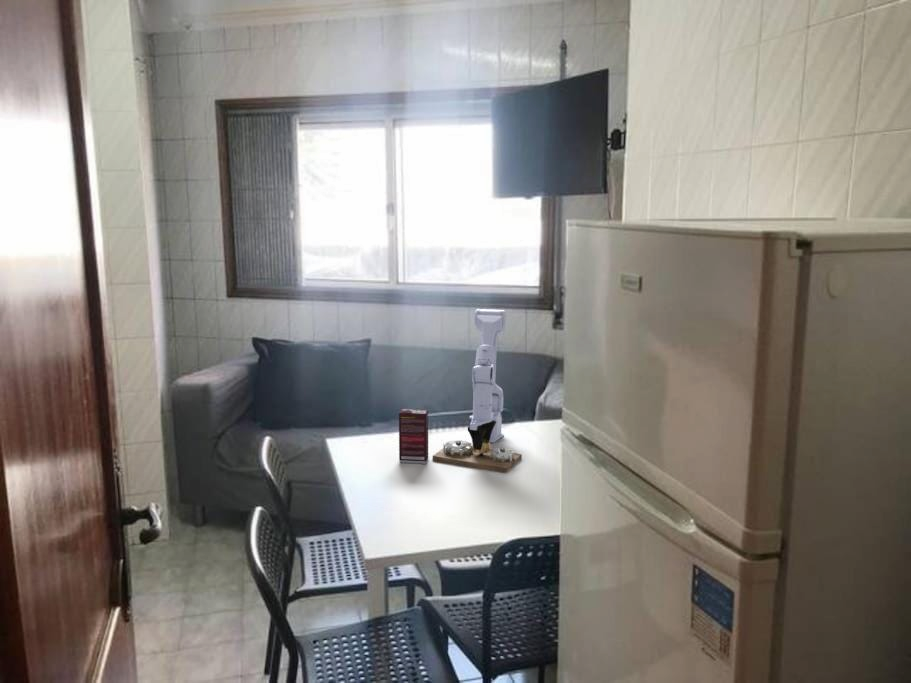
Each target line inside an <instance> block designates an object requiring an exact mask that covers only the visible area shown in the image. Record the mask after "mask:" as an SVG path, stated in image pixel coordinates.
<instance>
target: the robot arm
mask: <svg viewBox="0 0 911 683" xmlns="http://www.w3.org/2000/svg"><path fill="white" fill-rule="evenodd" d="M506 313H507V312H506V311H505V309H488V308H487V309H482V308H481V309H480V308H477V309H476V310H475V312H474V326H475V330H476V332H477V333H478V334H480V336H481V337H480V338H481V339H480V345H479V347H477V349H476V353H475V363H474V366H473V367H472V369H471V381H472V390H473V391H472V392H473V394H472V396H473V399H472V415H469V416H468V418H469V420H471V421H470V423H469V426H467V431H468V433H469V436H470V438H471V443H472V442H473V446H474V449H475V450H481V448H482V443H483V439H485V440H488V441H490V443H496V442H497V441H498V440H500V439H501V438H503V437H504V436H505V435H504V433H502V420H503V418H502V414H501V413H502V412H503V411H504V410H503V409H504V391H503V389H502V387H500V386H499V385H498V384H497V383H496V372H497V350H498V340H499V336H500V335H503V334H505V331H506V320H507V319H506V317H507V316H506V315H507V314H506Z"/></svg>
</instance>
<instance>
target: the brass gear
mask: <svg viewBox="0 0 911 683" xmlns="http://www.w3.org/2000/svg"><path fill="white" fill-rule="evenodd" d="M471 443H472V451H473V452H475V453H488V452H489V451H490V449H491V442H490V441H488V440H485V439H483V443H482V448H481V450H475V449H474V446H473V442H472V441H471Z"/></svg>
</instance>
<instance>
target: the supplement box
mask: <svg viewBox="0 0 911 683" xmlns="http://www.w3.org/2000/svg"><path fill="white" fill-rule="evenodd" d="M398 441H399V442H398V448H399V449H398V453H399V454H398V456H399V457H398V458H399V461H398V462H399V463H400V462H402V463H401V464H423V465H424V464H425V465H426V464H427V462H428V460H429V409H417V408H416V409H414V408H409V409H408V408H401V409H400V411H399V412H398Z"/></svg>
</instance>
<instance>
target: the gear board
mask: <svg viewBox="0 0 911 683" xmlns="http://www.w3.org/2000/svg"><path fill="white" fill-rule="evenodd" d="M433 460H434V461H433ZM521 460H522V453H517V452H515V451H512V449H509V448H505V447H499V448H493V449H492V448H490V451H489V452H488V453H475V452H473V451H472V442H469V441H467V440H457V439H456V440H448V441H446V443H443V447H442V449H440V450H439V451H437V452H436V453H435V454H433V455H432V461H433V462H440V463H446V464H452V465H459V466H462V467H468V468H469V467H470V468H476V469H480V470H488V471H493V472H498V473H503V474H506V473H508V472H509V469H510V470H511V469H512V468H513V467H514V466H515V465H516V464H517V463H519V462H520V461H521Z"/></svg>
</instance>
